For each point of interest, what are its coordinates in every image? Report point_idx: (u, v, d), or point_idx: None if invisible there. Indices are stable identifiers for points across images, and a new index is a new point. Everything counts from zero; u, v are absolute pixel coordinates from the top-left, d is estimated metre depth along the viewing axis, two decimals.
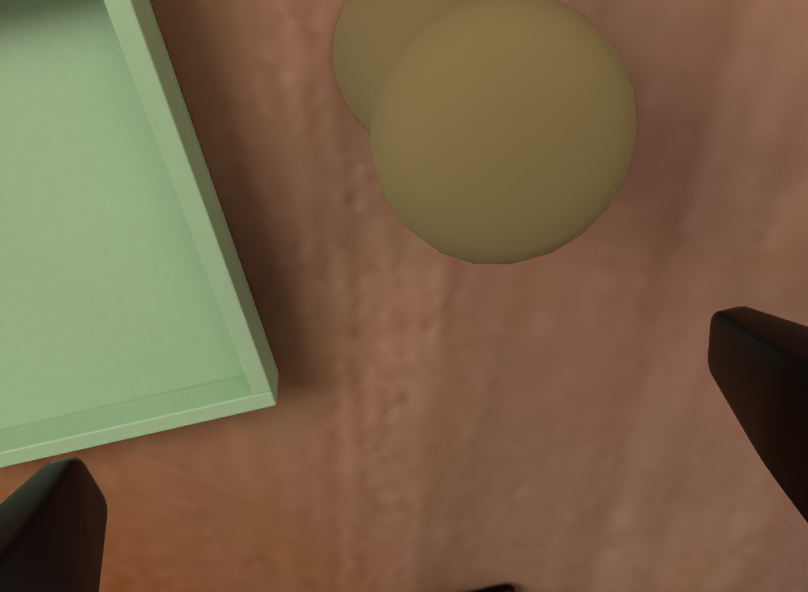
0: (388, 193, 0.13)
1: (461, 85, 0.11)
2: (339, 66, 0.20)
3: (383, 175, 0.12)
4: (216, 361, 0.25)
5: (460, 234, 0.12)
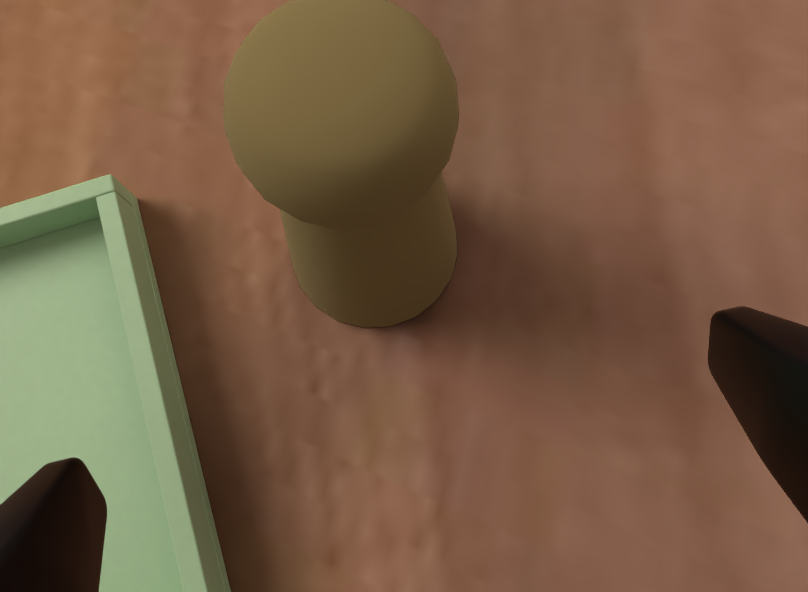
0: (232, 143, 0.14)
1: (270, 25, 0.14)
2: None
3: (227, 129, 0.14)
4: None
5: (288, 143, 0.13)
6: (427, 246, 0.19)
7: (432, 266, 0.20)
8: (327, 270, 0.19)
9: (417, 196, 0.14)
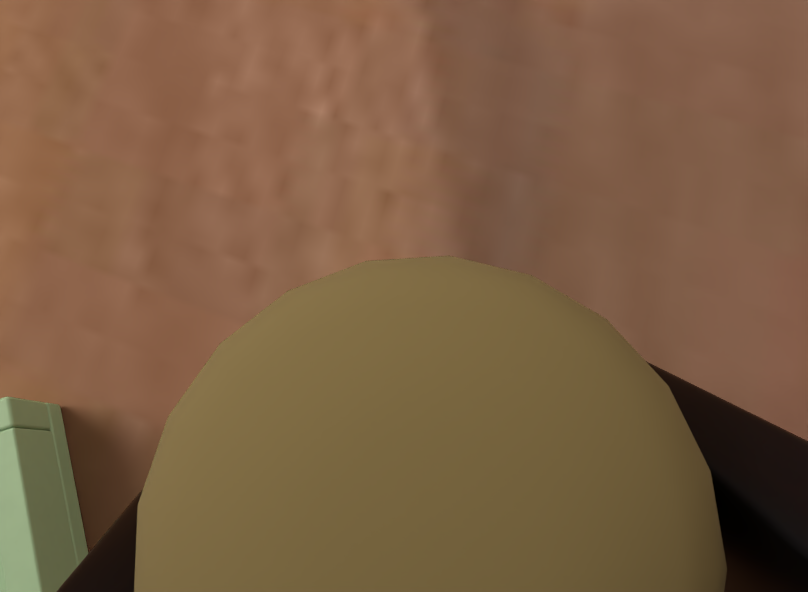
0: None
1: (253, 389, 0.05)
2: None
3: None
4: None
5: None
6: None
7: None
8: None
9: None
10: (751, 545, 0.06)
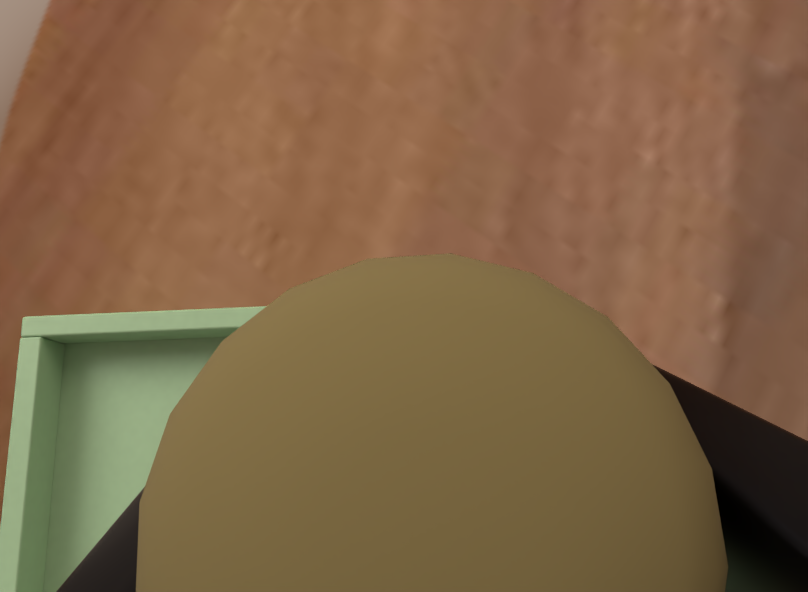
0: None
1: (255, 388, 0.05)
2: None
3: None
4: None
5: None
6: None
7: None
8: None
9: None
10: (751, 545, 0.06)
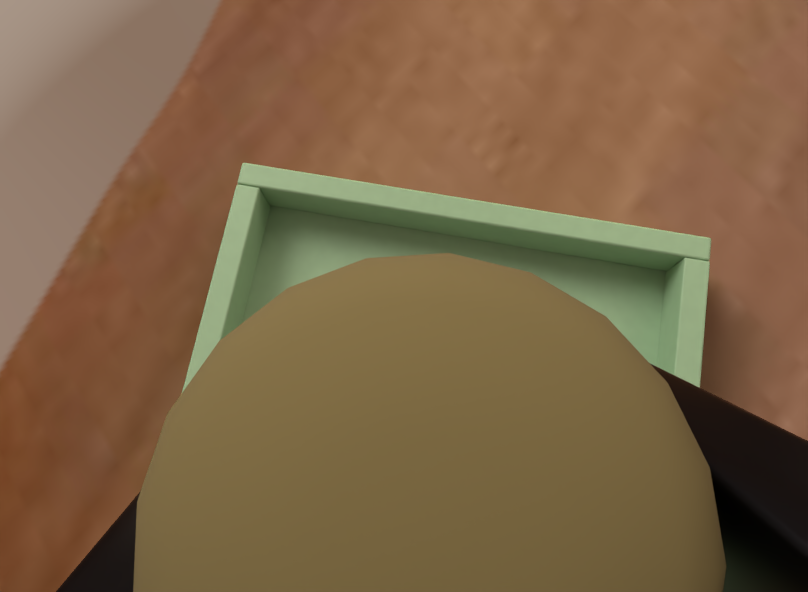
0: None
1: (252, 387, 0.05)
2: None
3: None
4: None
5: None
6: None
7: None
8: None
9: None
10: (751, 545, 0.06)
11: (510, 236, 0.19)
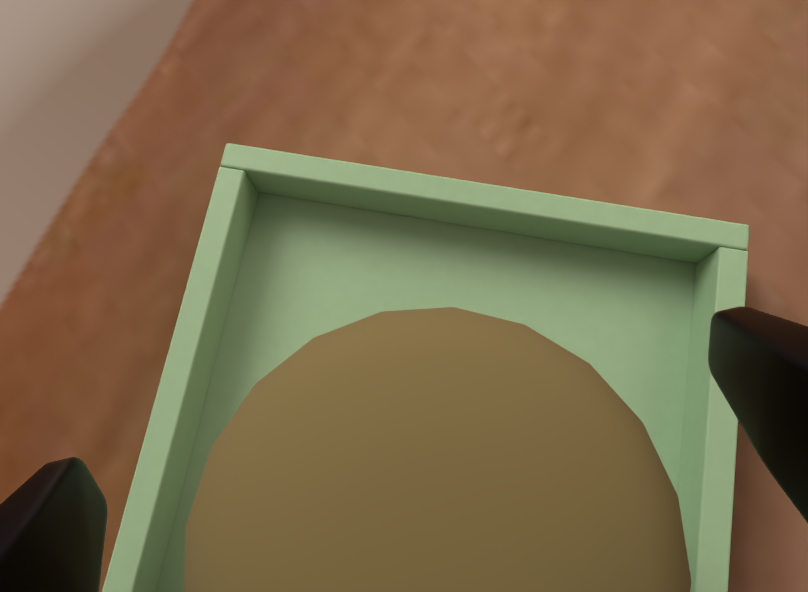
0: None
1: (288, 428, 0.06)
2: None
3: None
4: None
5: None
6: None
7: None
8: None
9: None
10: None
11: (523, 224, 0.17)
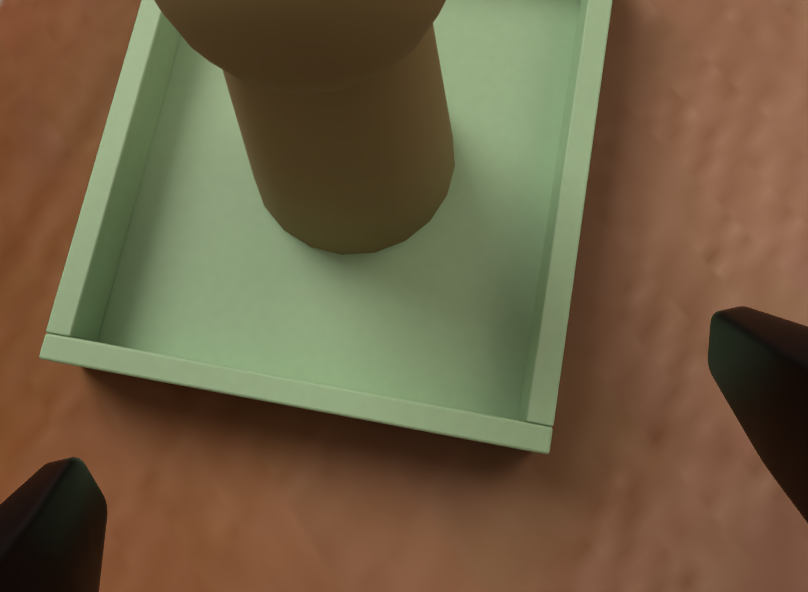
0: None
1: None
2: None
3: None
4: (475, 382, 0.18)
5: None
6: (418, 142, 0.15)
7: (424, 173, 0.16)
8: (291, 171, 0.15)
9: (404, 42, 0.10)
10: None
11: None
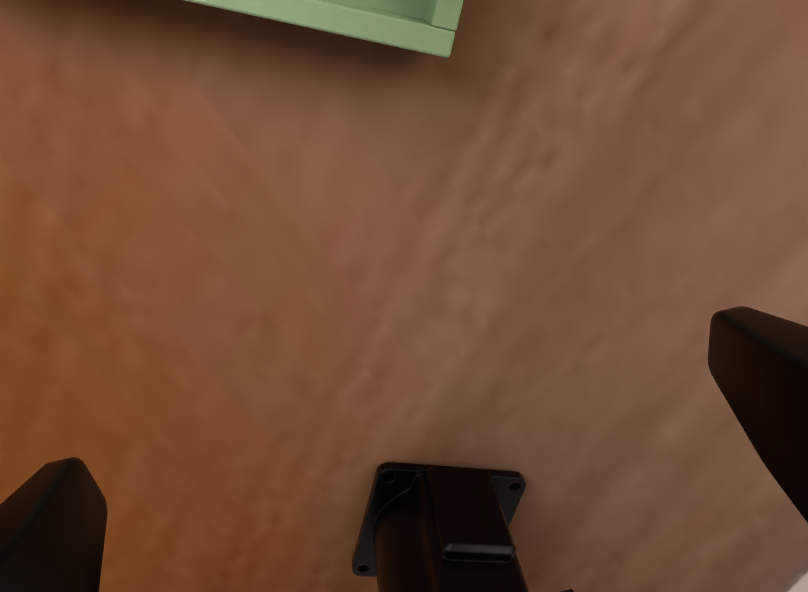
0: None
1: None
2: None
3: None
4: None
5: None
6: None
7: None
8: None
9: None
10: None
11: None
